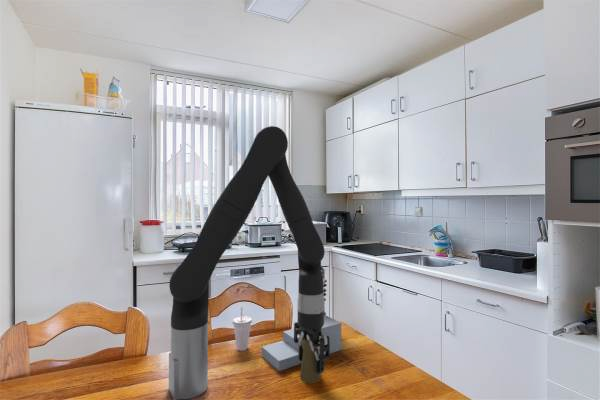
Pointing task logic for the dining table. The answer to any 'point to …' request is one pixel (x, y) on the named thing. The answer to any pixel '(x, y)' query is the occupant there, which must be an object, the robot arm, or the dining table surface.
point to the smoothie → (242, 331)
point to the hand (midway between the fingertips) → (310, 365)
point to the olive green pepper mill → (309, 364)
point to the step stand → (288, 351)
